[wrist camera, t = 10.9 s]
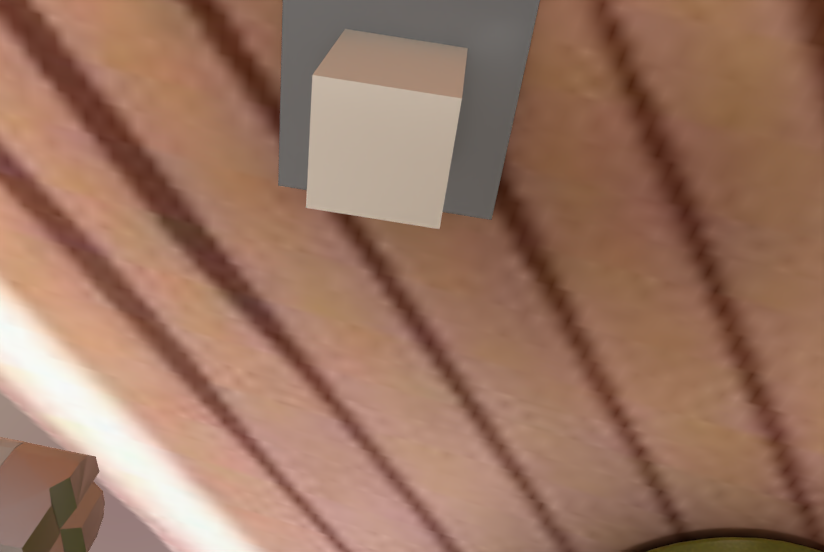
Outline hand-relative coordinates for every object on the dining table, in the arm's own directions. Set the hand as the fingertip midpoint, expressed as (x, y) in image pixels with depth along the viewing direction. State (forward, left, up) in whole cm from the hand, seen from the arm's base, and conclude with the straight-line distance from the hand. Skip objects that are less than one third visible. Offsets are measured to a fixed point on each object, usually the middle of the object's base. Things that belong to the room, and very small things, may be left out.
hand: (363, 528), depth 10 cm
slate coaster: (+2, 0, -20) cm, 20 cm away
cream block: (+2, 0, -19) cm, 19 cm away
